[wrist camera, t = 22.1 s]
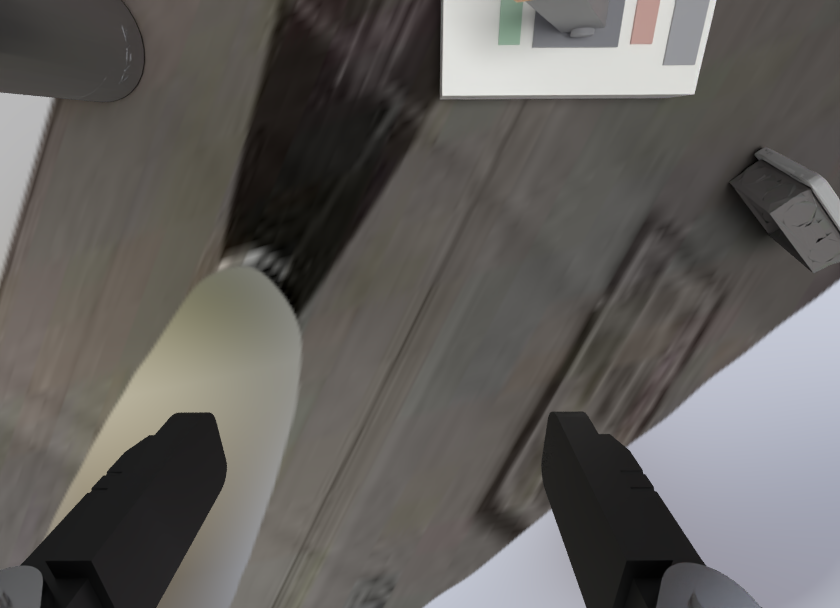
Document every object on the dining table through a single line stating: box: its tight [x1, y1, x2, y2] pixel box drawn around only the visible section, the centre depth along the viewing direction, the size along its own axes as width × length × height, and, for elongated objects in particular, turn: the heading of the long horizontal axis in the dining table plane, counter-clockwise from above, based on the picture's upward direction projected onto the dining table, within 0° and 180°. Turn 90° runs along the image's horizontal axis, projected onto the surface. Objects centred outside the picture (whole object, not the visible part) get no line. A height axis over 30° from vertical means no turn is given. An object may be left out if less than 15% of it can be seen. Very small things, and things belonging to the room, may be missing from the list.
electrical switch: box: [729, 147, 840, 273], centre depth 35 cm, size 9×5×9 cm, turn 47°
